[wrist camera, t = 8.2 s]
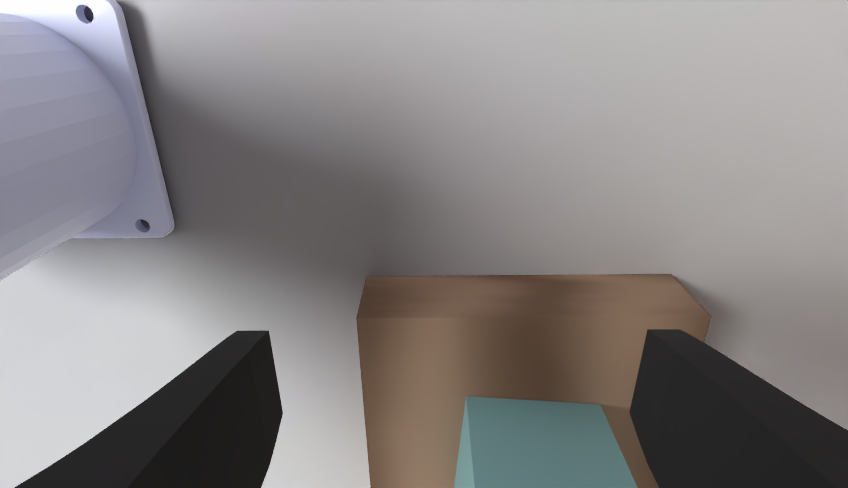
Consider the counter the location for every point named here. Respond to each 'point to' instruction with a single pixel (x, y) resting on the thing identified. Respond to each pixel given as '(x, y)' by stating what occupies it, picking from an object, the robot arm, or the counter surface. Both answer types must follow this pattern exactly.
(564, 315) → the square wooden block
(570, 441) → the teal cube
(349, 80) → the counter surface
